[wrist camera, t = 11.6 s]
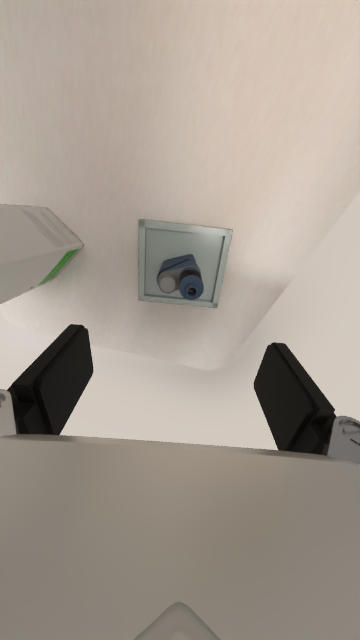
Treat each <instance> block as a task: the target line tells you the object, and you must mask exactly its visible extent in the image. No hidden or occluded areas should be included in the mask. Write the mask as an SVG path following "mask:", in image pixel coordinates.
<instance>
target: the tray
mask: <svg viewBox="0 0 360 640" xmlns="http://www.w3.org/2000/svg"><path fill="white" fill-rule="evenodd" d="M232 232H233V230H231V229H225V228H216V227H207V226H198V225H189V224H180V223H170V222H161V221H152V220H143V219H140V220H139V300H140V301H150V302H160V303H170V304H181V305H191V306H201V307H212V308H217V306H218V301H219V296H220V291H221V286H222V281H223V276H224V271H225V266H226V261H227V256H228V252H229V247H230V242H231V237H232ZM188 254H192V255H193V257H194V258H195V261H196V264H197V265H198V267H199V268H200V270H201V276H202V281H203V285H204V291H203V294H202V295H201V296H200V297H199V298H197V299H195V300H188V299H185V298H184V297H183V296H182V295H181V294H180V291H179V290H177V291H174V292H172V293H169V294H167V293H164V292H162V291H161V290H160V289H159V286H158V284H157V275H158V272H159V270H160V268H161V265H162V263H163V262H164V261H166V260H168V259H172V258H176V257H180V256H184V255H188Z"/></svg>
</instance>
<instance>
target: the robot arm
mask: <svg viewBox="0 0 360 640" xmlns="http://www.w3.org/2000/svg"><path fill="white" fill-rule="evenodd" d="M92 374H93V363H92V356H91V349H90V342H89V334H88V330H87V329H86V328H85V327H84V326H83V325H74V324H71V325H69V326H68V327H67V328H66V329H65V330H64V331H63V332H62V333H61V334H60V335H59V336H58V337H57V338H56V340H55V341H54V342H53V343H52V344H51V345H50V346H49V347H48V348H47V349H46V350H45V351H44V352H43V353H42V354H41V355H40V356H39V357H38V358H37V359H36V360H35V361H34V362H33V363H32V364H31V365H30V366H29V367H28V368H27V369H26V370H25V371H24V372H23V373H22V374H21V375H20V376H19V378H17V380H16V381H15V382H13V384H12V385H11V387H9V389H8V390H3V389H0V640H360V422H359V421H358V420H356V419H353V418H351V417H347V416H338V417H336V415H335V414H334V411H335V409H334V408H333V406H332V405H331V404H330V403H329V401H328V400H327V398H326V397H325V396H324V394H323V393H322V392H321V391H320V389H319V388H318V386H317V385H316V384H315V383H314V381H313V380H312V379H311V377H310V376H309V375H308V373H307V372H306V371H305V369H304V368H303V367H302V365H301V364H300V363H299V361H298V360H297V359H296V357H295V356H294V355H293V353H292V352H291V351H290V349H289V348H288V347H287V346H286V344H284V343H272V344H271V345H268V347H267V349H266V352H265V354H264V357H263V360H262V363H261V365H260V368H259V370H258V373H257V376H256V378H255V381H254V389H255V392H256V394H257V397H258V400H259V402H260V404H261V407H262V410H263V412H264V414H265V417H266V420H267V422H268V425H269V427H270V430H271V432H272V435H273V437H274V440H275V443H276V445H277V448H278V450H279V451H278V450H266V449H253V448H239V447H227V446H213V445H200V444H185V443H172V442H158V441H142V440H128V439H113V438H98V437H82V436H63V435H60V433H61V431H62V429H63V428H64V426H65V424H66V422H67V420H68V418H69V417H70V414H71V413H72V411H73V409H74V407H75V406H76V404H77V402H78V400H79V398H80V396H81V395H82V393H83V391H84V389H85V387H86V386H87V384H88V382H89V380H90V378H91V376H92Z"/></svg>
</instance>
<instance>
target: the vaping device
mask: <svg viewBox="0 0 360 640" xmlns="http://www.w3.org/2000/svg"><path fill="white" fill-rule="evenodd" d="M157 284H158V286H159V289H160V290H161V291H162V292H164V293H167V294H169V293H172V292H174V291H177V290H179V291H180V294H181V295H182V296H183V297H184V298H185V299H188V300H195V299H197V298H199V297H200V296H201V295H202V294H203V291H204V285H203V281H202V276H201V270H200V268H199V267H198V265H197V264H196V261H195V258H194V257H193V255H192V254H188V255H184V256H180V257H176V258H172V259H168V260H166V261H164V262H163V263H162V265H161V268H160V270H159V272H158V275H157Z"/></svg>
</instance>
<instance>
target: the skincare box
mask: <svg viewBox="0 0 360 640" xmlns="http://www.w3.org/2000/svg"><path fill="white" fill-rule="evenodd" d="M83 245H84V244H83V243H82V242H81V241H80V240H79V239H78V238H77V237H76V236H75V235H74V234H73V233H72V232H71V231H70V230H69V229H68V228H67V227H66V226H65V225H64V224H63V223H62V222H61V221H60V220H59V219H58V218H57V217H56V216H55V215H54V214H53V213H52V212H51V211H50V210H49V209H48V208H43V207H32V206H20V205H9V204H0V304H2V303H4V302H6V301H8V300H10V299H12V298H14V297H17V296H19V295H21V294H23V293H25V292H27V291H29V290H32V289H34V288H36V287H38V286H40V285H42V284H45V283H47V282H49V281H51V280H53V279H54V278H55V277H56V276H57V274H58V273H59V272H60V271H61V270H62V269H63V268H64V267H65V266H66V265H67V263H68V262H69V261H70V260H71V259H72V258H73V256H74V255H75V254H76V253H77V252H78V251H79V250H80V249H81V248H82V247H83Z"/></svg>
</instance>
